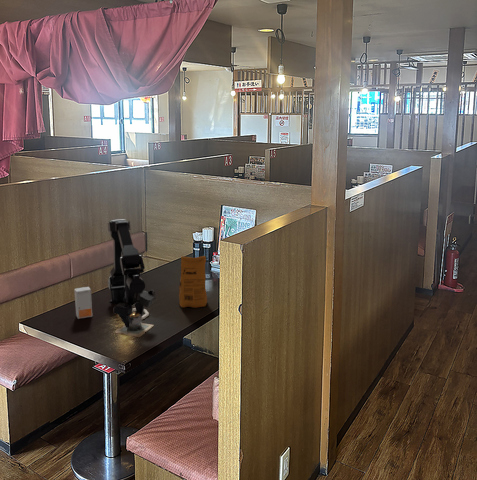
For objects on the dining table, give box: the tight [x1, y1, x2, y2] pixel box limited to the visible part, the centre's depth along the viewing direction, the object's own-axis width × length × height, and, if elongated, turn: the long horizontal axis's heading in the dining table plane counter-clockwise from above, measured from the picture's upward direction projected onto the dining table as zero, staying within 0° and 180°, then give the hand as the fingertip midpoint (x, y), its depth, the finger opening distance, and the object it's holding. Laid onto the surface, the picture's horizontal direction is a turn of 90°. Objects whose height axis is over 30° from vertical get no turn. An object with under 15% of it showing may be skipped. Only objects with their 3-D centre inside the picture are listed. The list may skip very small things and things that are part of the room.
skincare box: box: [73, 286, 93, 320], centre depth 211 cm, size 6×4×12 cm
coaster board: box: [113, 322, 155, 338], centre depth 200 cm, size 11×11×1 cm
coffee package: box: [178, 255, 208, 309], centre depth 223 cm, size 10×12×22 cm
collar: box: [132, 307, 150, 321], centre depth 213 cm, size 11×11×1 cm
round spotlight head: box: [125, 311, 143, 331], centre depth 199 cm, size 6×7×6 cm
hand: (134, 322), depth 199 cm, fingers open, 9 cm apart
